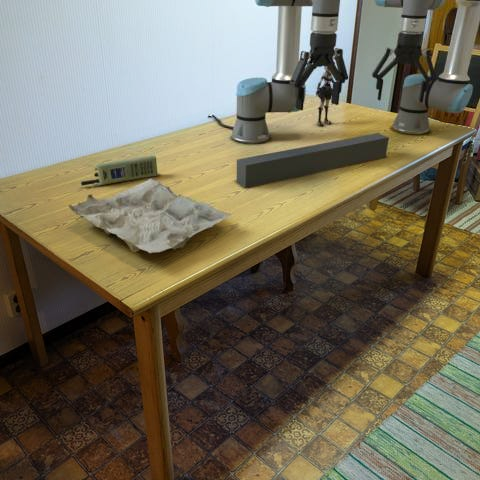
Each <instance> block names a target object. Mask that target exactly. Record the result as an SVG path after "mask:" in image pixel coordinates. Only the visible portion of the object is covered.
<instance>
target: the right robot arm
mask: <svg viewBox="0 0 480 480" xmlns="http://www.w3.org/2000/svg"><path fill="white" fill-rule="evenodd" d="M445 2H446V0H374V4H375V5H376V6H378V7H383V8H397V9H398V8H400V9H402V10H401V15H400V21H399V28H398V30H399V31H400V32H399V33H398V35H397V39H396V47H395V48H390V47H389V46H388V47H386V48H385V50H384V51H385V52H384V54H383V56H382V57H381V59H380V60H379V62H378V64H376V67H375V69H374V70H373V72H372V73H371V76H372V78H374V79H376V83H375V90H378V92H377V98H376V99H377V101H381V100H382V93H383V86H384V79H383V78H385V76H386V75H387V74H389V72H390V71H392V70H393V68H394V67H395V66H397V65H398V64H399V63H400V64H402V65H403V64H404V65H405V64H408V65H412V64H413V63H414V65H415V66H416V67H417V69H418V71H419V72H420V73H414V74H409V75H408V76H406V77H405V79H404V82H403V85H402V92H401V93H402V94H401V98H400V104H399V111H398V112H397V115H396V117H395V118H394V120H393V123H392V127H391V128H392V130H393V131H395V132H397V133H399V134H400V133H401V134H403V135H410V136H411V135H412V136H421V135H426V134H428V133H429V131H430V119H429V109H430V110H435V111H441V112H445V113H447V114H450V113H451V114H460V113H462V112H463V111H464V110H465V108H466V107H467V106H468V104H469V103H470V99H471V97H472V94H473V91H474V90H473V89H474V86H473V84H471V83H470V80H471V79H470V76H469V75H468V71H469V67H470V63H471V60H472V54H473V50H474V47H475V42H476V38H477V34H478V30H479V26H480V0H455V3H456V4H457V10H456V16H455V20H454V25H453V29H452V33H451V38H450V43H449V46H448V51H447V55H446V59H445V60H446V61H445V65H444V69H443V72H442V73H440V74H439V75H438V79H437V75H436V71H435V68H434V65H433V61H432V58H431V57H432V56H431V55H432V51H431V49H429V48H426V49H422V44H423V40H424V34H423V33H424V32H425V29H426V28H425V27H426V21H427V17H428V16H427V15H428V11H435V10H436V9H439V8H441V7H442V6H443V5H444V4H445ZM393 54H394V55H395V57H394V58H393V59H392V61H390V62H389V64H387V66H386V67H384V65H385V64H386V62H387V61H388V59H389V57H391V56H392V55H393ZM421 55H422V56H423V58H425V62H426V66H427V69H428V71H429V73H427V71H426V70H425V68H424V67H423V66H422V64H421V62H420V61H419V57H420V56H421ZM383 67H384V68H383ZM382 68H383V70H382ZM381 70H382V71H381Z"/></svg>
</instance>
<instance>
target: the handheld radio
mask: <svg viewBox="0 0 480 480" xmlns="http://www.w3.org/2000/svg"><path fill="white" fill-rule="evenodd" d="M157 164H158V163H157V156H156V155H147V156H141V157H140V156H139V157H134V158H127V159H121V160H115V161H108V162H101V163H96V164H93V167H94V168H93V171H97V172H95V173H94V174H93V175H94V177H96V179H90V180H83V181H82V180H81V181H80V185H81V186H88V185H93V184H94V185H96V186H97V187H98V186H99V187H100V186H105V185H109V184H115V183H121V182H128V181H134V180H139V179H144V178H151V177H156V176H158V175H159V174H158V165H157Z"/></svg>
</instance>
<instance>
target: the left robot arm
mask: <svg viewBox="0 0 480 480" xmlns="http://www.w3.org/2000/svg"><path fill="white" fill-rule="evenodd" d="M255 4H256V5H257V6H258V7H265V8H269V7H277V9H278V11H277V37H276V63H275V73H274V74H273V75H272V76H271V81H268V80H267V78H265V77H250V78H245V79H243V80H241V81H239V82H238V83H237V85H236V93H235V96H236V119H235V123H234V125H233V126H231V125H228V124H224V123H222V122H221V120H220V119H219V118H217V116H216V115H214V114H213V115H212V116H209V115H208V116H207V118H211V117H212V118H213V119H214V120H215V121H216V122H217V123H218V125H219V126H220V127H223V128H226V129H231V130H232V133H231V140H233V141H234V142H236V143H240V144H246V145H247V144H248V145H257V144H262V143H266V142H268V141H269V140H270V130H269V127H268V124H267V121H266V114H268V113H271V114H273V113H288V114H290V113H297V112H300V111H304V104H305V100H306V92H307V89H306V88H307V85H306V82H307V81H308V80H309V78H310V76H311V75H312V73H313V72H314V71H315V70H317V68H321V67H324V66H327V67H328V69H329V70H330V72H331V74H332V77H333V80H334V81H335V82H333V83H332V87H331V88H332V96H331V100H330V103H331V105H332V104H333V105H335V106H339V104H340V94H341V93H342V88H343V84H345V83H346V81H348V80H349V74H348V70H347V67H346V63H345V60H344V49H343V48H339V47H336V46H337V38H338V37H337V36H338V34H337V33H336V32H337V31H338V26H339V16H340V6H341V0H255ZM303 7H312V9H311V21H310V31H311V33H310V35H309V48H310V50H309V51H304V50H301V51H300V46H301V28H302V11H303ZM333 57H335V60H334V59H332V58H333Z"/></svg>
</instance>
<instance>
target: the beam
mask: <svg viewBox="0 0 480 480" xmlns="http://www.w3.org/2000/svg"><path fill="white" fill-rule="evenodd" d="M389 140H390V137H389V136H386V135H383V134H381V133H379V132H376V133H369V134H366V135H360V136H355V137H349V138H343V139H339V140H334V141H328V142H323V143H317V144H311V145H307V146H302V147H296V148H295V147H294V148H291V149H285V150H280V151H275V152H270V153H263V154H260V155H258V154H257V155H253V156H247V157H243V158H237V159H236V182H237V183H238V184H240V185H241V186H242V187H244V188H251V187H256V186H260V185H264V184H270V183H273V182H278V181H283V180H288V179H293V178H296V177H301V176H302V177H303V176H306V175H310V174H315V173H320V172H326V171H329V170H333V169H334V170H335V169H338V168H343V167H347V166H351V165H356V164H361V163H365V162H371V161H375V160H380V159H385V158H387V154H388V153H387V152H388V148H389V147H388V145H389Z"/></svg>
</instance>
